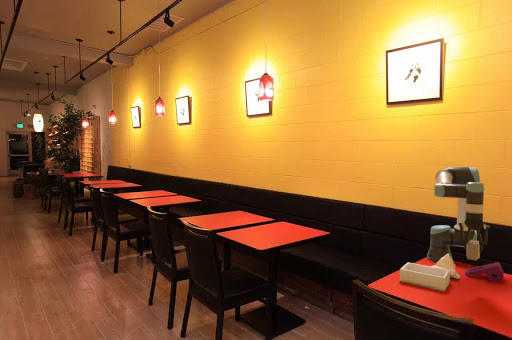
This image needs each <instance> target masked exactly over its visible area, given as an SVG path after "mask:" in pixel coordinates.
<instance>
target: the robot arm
mask: <svg viewBox="0 0 512 340" xmlns="http://www.w3.org/2000/svg"><path fill="white" fill-rule="evenodd" d="M434 177H435V178H434V180H435V182H436V183H435V184H434V186H433V187H434V188H433V195H434V197H436V198H450V199H451V198H452V199H455V198H456V199H457V208H456V210H457V213H456V224H455V225H454V226H453V228H451V226H450V225H443V224H442V225H441V224H439V225H433V226H431V227H430V240H429V241H430V243H429V244H430V246H429V249H428V252H427V254H426V255H427V256H426V258H427V259H428V260H430V261H433V262H436V263H437V262H438V261H439V260H441V258H442V257H444V256H445V255H447V254H449V255H450V257H451V259H452V260H453V256H452V253H451V250H450V249H451V247H450V246H452V247H460V248H464V250H466V251H467V250H468V242H469V241H470V240H475V241H479V245H478V253H477V259H480V258H481V257H480V255H481V253H482V252H483V248H484V247H483V246H487V245H488V235H489V234H488V233H489V229H490V228H491V227H490V225H487V224H485V223H484V214H483V212H484V197H485V196H484V195H485V193H484V192H485V186H484V185H485V184H484V183H483V182H481V179H480V173H479V169H478V168H476V167H474V166H473V167H471V166H447V167H444V168H441V169H440V170H438V171H437V172H436V173H435V176H434ZM481 228H483V229H484V236H483V238H482V233H481ZM465 256H466V257H467V254H466V255H465Z"/></svg>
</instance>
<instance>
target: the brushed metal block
mask: <svg viewBox="0 0 512 340" xmlns="http://www.w3.org/2000/svg"><path fill="white" fill-rule="evenodd" d="M478 245H479V240H477V241H475V240H470V241H469V242H468V250H466V255H467V256H466V258H467V260H472V261H477V260H478V258H477V253H478Z"/></svg>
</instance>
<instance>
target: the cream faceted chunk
mask: <svg viewBox="0 0 512 340" xmlns="http://www.w3.org/2000/svg"><path fill="white" fill-rule="evenodd" d="M430 267H435V268H440V269H445V270H450V279H458V280H460V277H461V275H460V274H459V273H458V272H457V271H456V264H455V262H454V260H453V258H452V259H451V257H450V255H449V254H447V255H445V256H444V257H442V258H441V260H439V261H438V262H437V261H436V262H435V264H434V265H431V266H430Z"/></svg>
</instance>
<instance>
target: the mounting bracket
mask: <svg viewBox="0 0 512 340" xmlns="http://www.w3.org/2000/svg"><path fill="white" fill-rule="evenodd" d="M464 272H465V275H466V276H467V277H470V276H472V277H473V276H476V275H481V274H485V276H486V277H487V279H488V280H489V281H490V282H493V283H496V284H497V283H501V282H503V280H504V273H505V272H504V269H503V266H502V265H501V263H500V261H497V262H494V263H493V262H492V263H488V264H483V265H479V266H475V267H471V268H468V269H465V271H464Z"/></svg>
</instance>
